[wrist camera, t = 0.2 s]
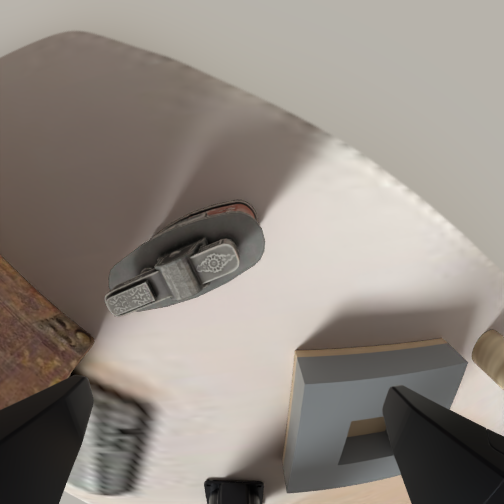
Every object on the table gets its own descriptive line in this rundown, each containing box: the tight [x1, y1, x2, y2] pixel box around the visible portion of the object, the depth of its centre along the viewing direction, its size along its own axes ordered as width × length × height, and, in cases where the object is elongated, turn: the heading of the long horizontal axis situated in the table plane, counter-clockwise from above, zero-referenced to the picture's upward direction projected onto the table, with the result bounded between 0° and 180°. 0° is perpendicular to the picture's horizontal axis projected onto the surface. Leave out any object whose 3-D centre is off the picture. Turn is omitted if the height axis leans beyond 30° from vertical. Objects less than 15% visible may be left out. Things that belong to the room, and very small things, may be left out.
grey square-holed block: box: [282, 338, 468, 493], centre depth 24 cm, size 14×14×4 cm
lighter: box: [105, 200, 265, 317], centre depth 17 cm, size 8×3×10 cm, turn 113°
